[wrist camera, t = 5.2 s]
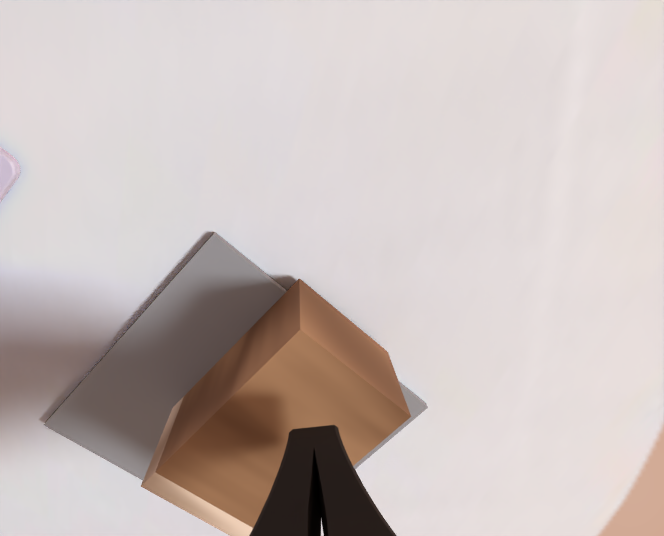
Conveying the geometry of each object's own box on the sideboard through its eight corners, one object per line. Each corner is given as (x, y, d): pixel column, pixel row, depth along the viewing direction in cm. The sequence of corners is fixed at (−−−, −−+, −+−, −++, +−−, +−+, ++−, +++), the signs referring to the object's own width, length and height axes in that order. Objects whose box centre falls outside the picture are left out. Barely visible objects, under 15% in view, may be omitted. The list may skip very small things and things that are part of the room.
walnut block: (387, 351, 18) (262, 465, 20) (299, 278, 17) (172, 407, 18) (411, 416, 14) (255, 549, 16) (300, 329, 13) (140, 486, 14)
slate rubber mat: (263, 541, 22) (262, 547, 22) (47, 419, 18) (43, 424, 18) (425, 403, 20) (427, 407, 19) (214, 231, 16) (213, 234, 16)
